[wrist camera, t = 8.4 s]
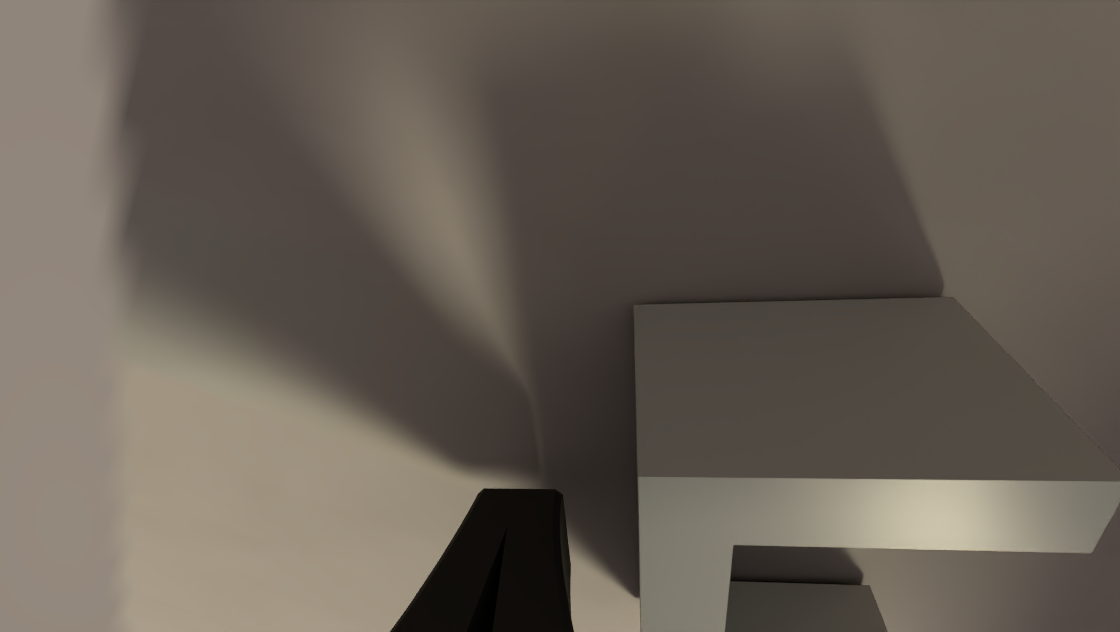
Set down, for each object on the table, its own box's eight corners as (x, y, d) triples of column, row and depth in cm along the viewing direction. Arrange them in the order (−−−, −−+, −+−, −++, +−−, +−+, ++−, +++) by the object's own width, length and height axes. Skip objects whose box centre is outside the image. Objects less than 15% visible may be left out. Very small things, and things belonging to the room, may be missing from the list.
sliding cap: (860, 616, 12) (936, 827, 9) (639, 608, 13) (645, 806, 10) (953, 296, 8) (1131, 482, 6) (633, 304, 9) (638, 476, 6)
